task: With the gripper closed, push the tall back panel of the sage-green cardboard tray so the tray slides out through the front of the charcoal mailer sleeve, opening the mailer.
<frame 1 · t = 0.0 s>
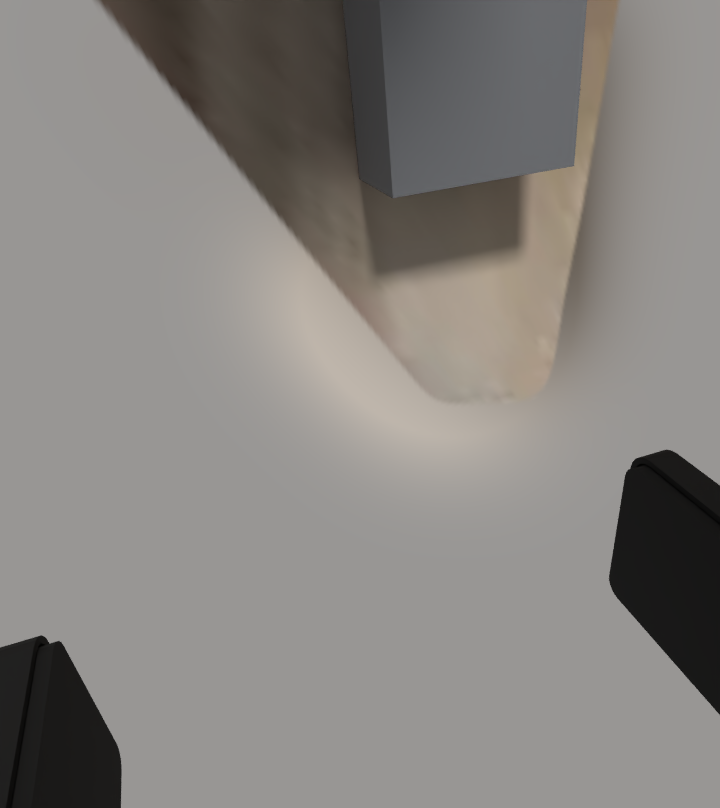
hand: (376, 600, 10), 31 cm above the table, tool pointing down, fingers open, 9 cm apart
mailer sleeve: (439, 56, 36), on the table
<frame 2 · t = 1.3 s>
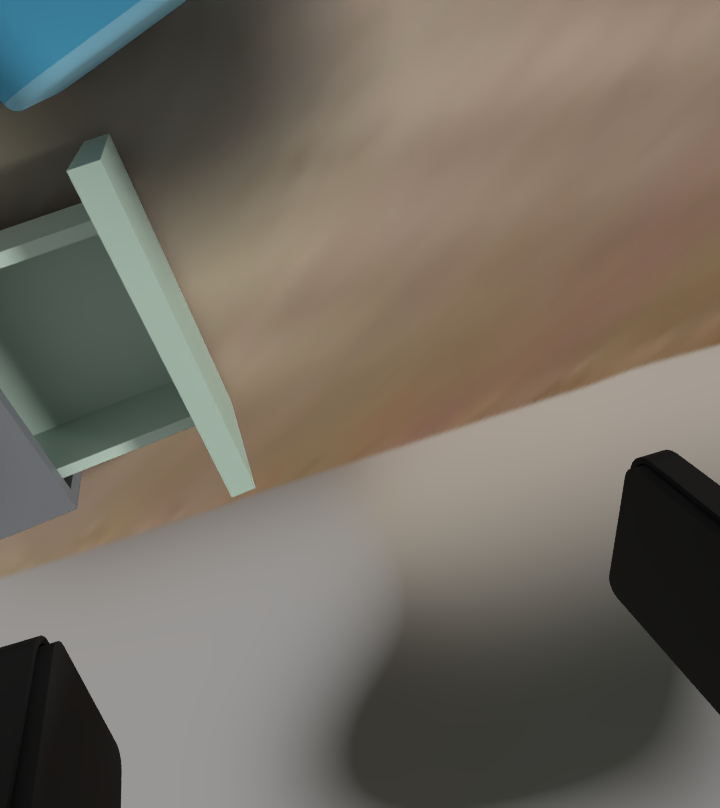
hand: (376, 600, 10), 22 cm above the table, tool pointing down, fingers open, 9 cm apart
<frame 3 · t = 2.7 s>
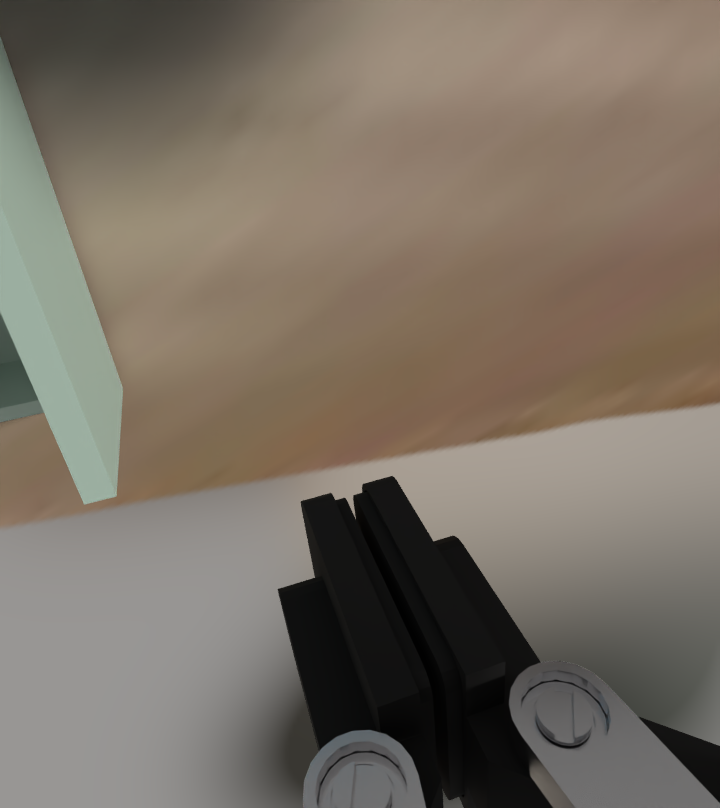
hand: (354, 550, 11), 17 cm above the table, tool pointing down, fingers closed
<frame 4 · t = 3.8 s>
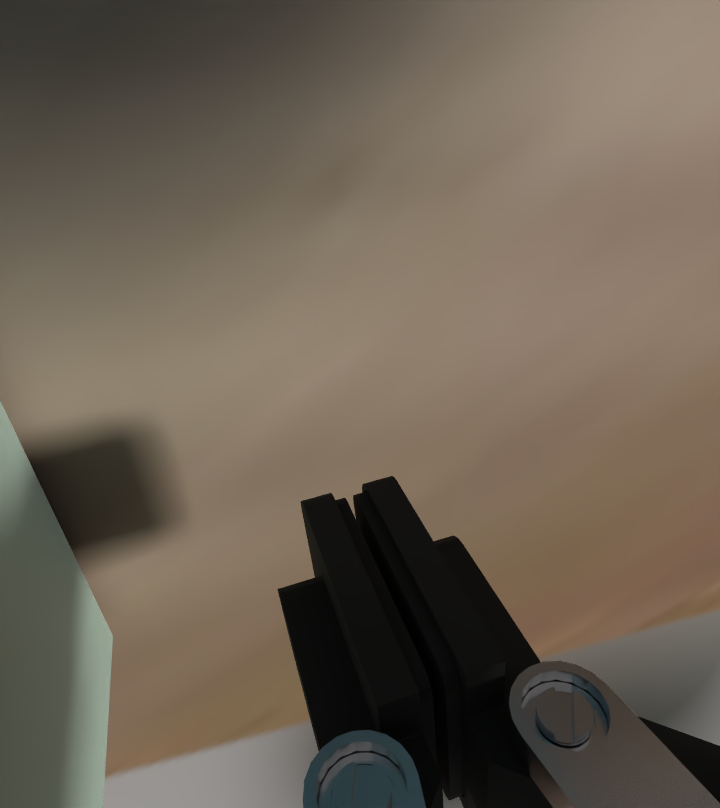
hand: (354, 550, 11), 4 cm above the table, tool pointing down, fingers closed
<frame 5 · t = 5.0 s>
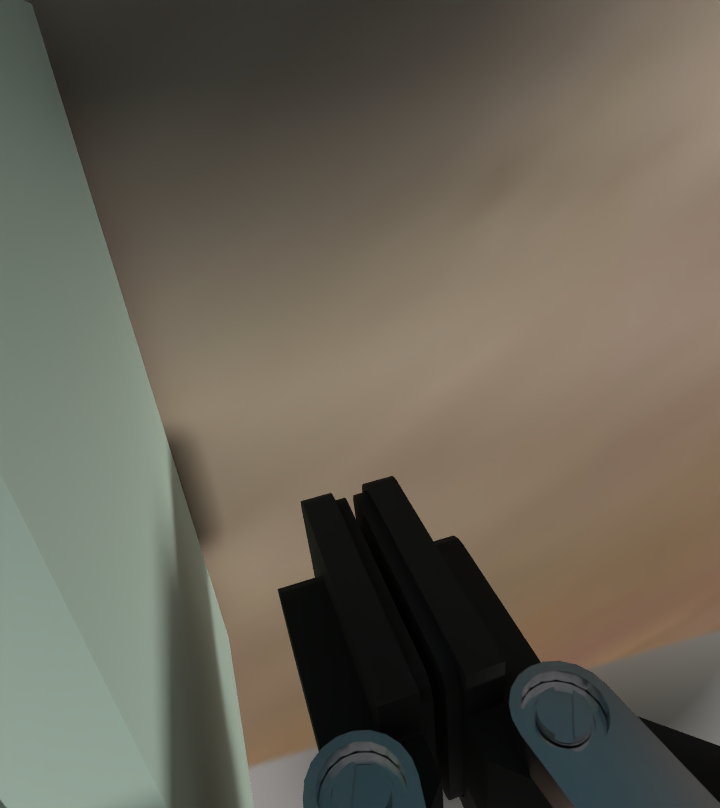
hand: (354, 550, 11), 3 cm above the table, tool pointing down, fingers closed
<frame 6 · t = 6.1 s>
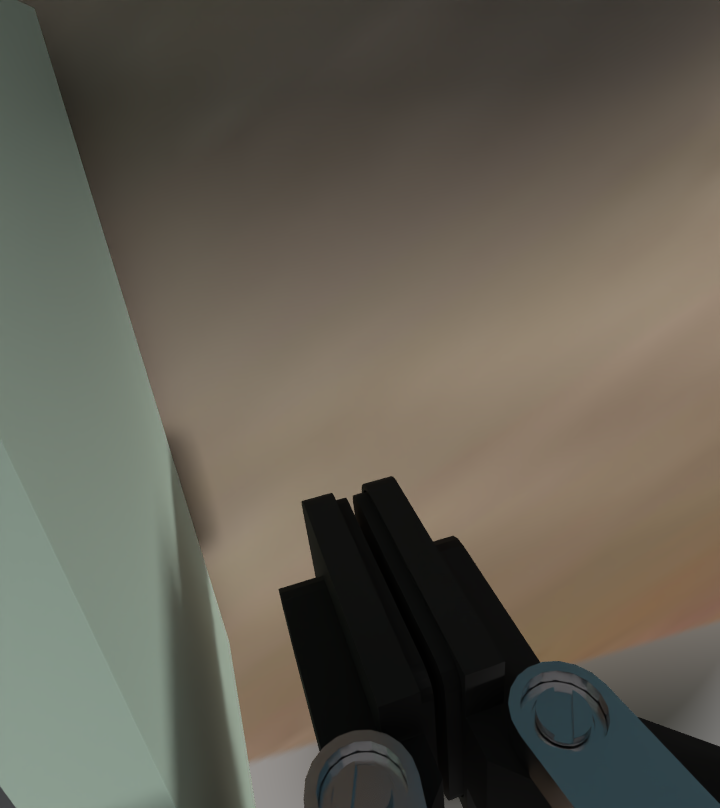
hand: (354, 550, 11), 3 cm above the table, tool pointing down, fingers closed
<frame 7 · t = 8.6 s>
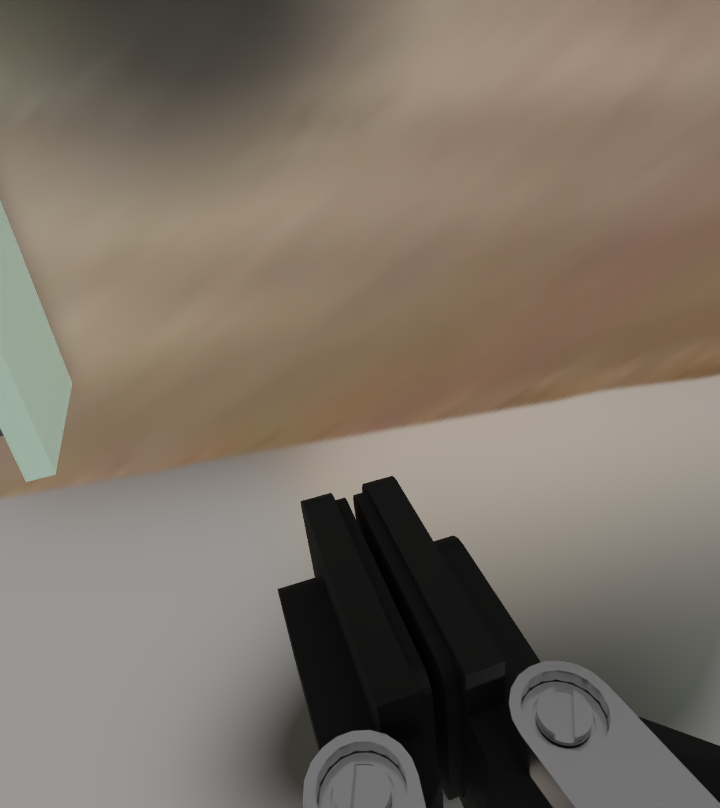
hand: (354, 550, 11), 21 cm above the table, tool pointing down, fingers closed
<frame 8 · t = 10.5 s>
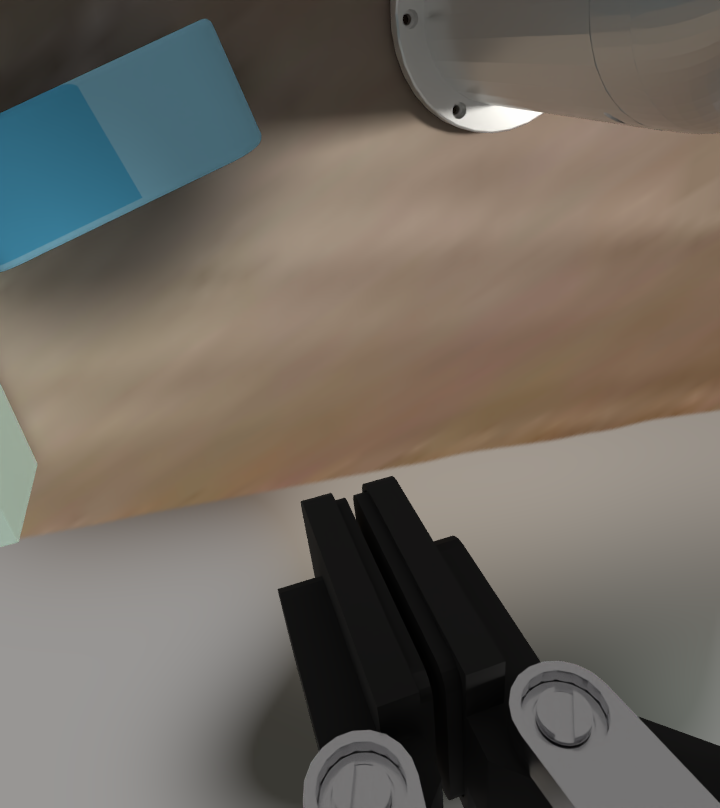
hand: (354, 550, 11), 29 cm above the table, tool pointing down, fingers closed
data package: (106, 122, 32), on the table
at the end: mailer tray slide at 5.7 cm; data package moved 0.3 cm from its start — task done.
